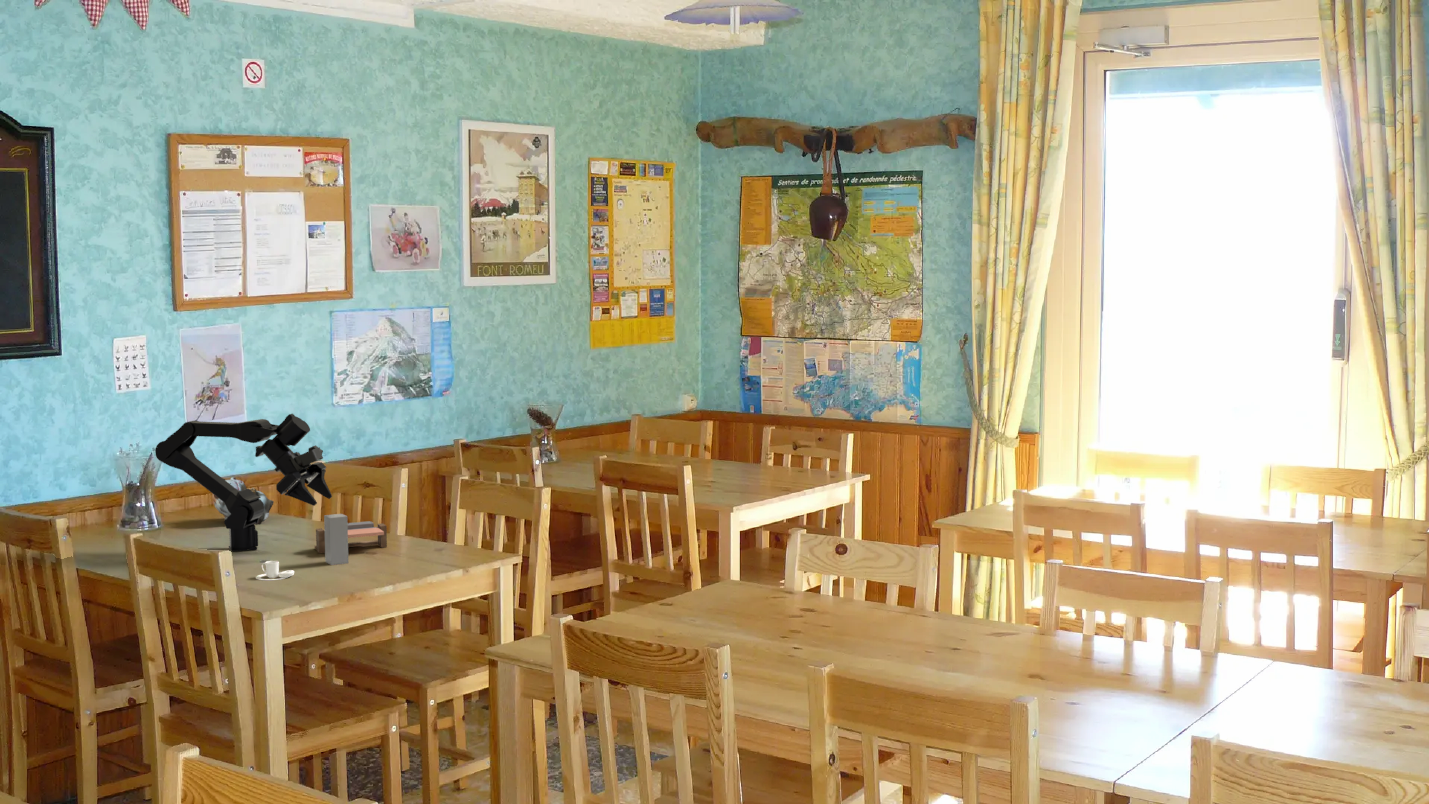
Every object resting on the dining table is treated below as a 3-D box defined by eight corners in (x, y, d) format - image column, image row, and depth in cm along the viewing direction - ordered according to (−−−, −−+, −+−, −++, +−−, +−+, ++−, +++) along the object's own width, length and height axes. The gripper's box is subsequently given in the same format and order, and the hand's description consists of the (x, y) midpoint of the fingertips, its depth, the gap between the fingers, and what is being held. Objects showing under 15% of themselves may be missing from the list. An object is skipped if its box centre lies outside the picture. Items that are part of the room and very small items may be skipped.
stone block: (330, 565, 337) (329, 518, 336) (325, 561, 341) (324, 515, 340) (348, 563, 340) (347, 516, 338) (342, 559, 343) (341, 513, 342)
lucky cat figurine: (263, 525, 389) (235, 481, 383) (224, 542, 391) (195, 498, 386) (281, 500, 404) (254, 457, 399) (242, 516, 406) (215, 473, 401)
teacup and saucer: (299, 577, 325) (299, 561, 325) (273, 584, 318) (273, 567, 318) (274, 573, 330) (274, 557, 329) (248, 579, 323) (247, 563, 322)
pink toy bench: (319, 553, 351) (318, 531, 351) (314, 548, 357) (314, 527, 357) (386, 547, 359) (386, 525, 359) (381, 542, 365) (380, 521, 365)
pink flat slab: (329, 543, 347) (329, 532, 347) (321, 536, 357) (321, 525, 357) (384, 538, 354) (383, 527, 353) (374, 531, 363) (374, 520, 363)
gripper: (286, 442, 342) (328, 487, 342) (318, 432, 360) (358, 474, 360) (258, 471, 344) (299, 516, 344) (291, 459, 362) (330, 501, 362)
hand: (323, 501), depth 352 cm, fingers open, 9 cm apart
